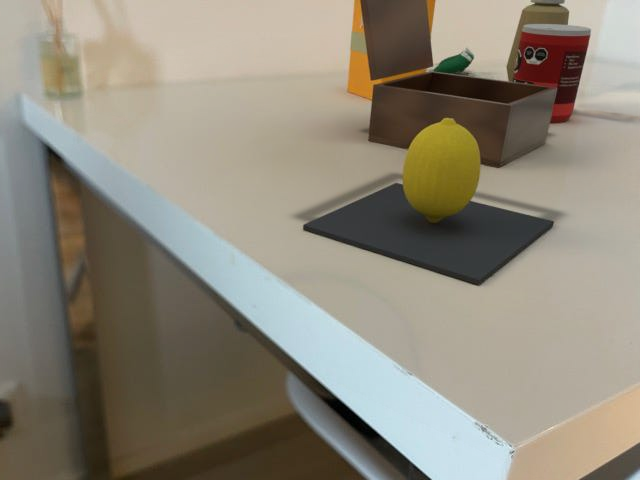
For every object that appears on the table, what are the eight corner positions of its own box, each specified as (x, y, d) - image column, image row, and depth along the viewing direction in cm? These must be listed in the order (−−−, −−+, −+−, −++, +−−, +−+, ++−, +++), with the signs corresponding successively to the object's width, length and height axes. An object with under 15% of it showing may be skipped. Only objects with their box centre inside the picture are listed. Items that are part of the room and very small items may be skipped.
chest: (545, 143, 75) (557, 87, 72) (499, 167, 66) (511, 105, 63) (423, 121, 83) (430, 70, 81) (367, 140, 74) (373, 84, 72)
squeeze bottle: (495, 93, 101) (518, -39, 93) (510, 85, 107) (533, -39, 99) (550, 100, 97) (579, -37, 89) (563, 92, 103) (591, -37, 95)
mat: (553, 225, 52) (554, 221, 52) (478, 285, 42) (479, 279, 42) (395, 186, 60) (396, 182, 60) (302, 229, 50) (303, 224, 50)
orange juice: (378, 102, 93) (394, -58, 84) (346, 91, 100) (357, -58, 91) (424, 99, 96) (444, -57, 87) (389, 88, 103) (404, -57, 94)
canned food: (502, 108, 91) (518, 22, 86) (564, 112, 90) (584, 25, 85) (510, 120, 84) (527, 28, 79) (576, 124, 83) (598, 31, 78)
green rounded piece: (444, 89, 113) (474, 65, 110) (430, 71, 113) (460, 47, 109) (450, 80, 121) (478, 58, 118) (437, 64, 120) (465, 41, 117)
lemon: (449, 242, 47) (467, 131, 44) (383, 222, 51) (394, 117, 47) (483, 222, 51) (502, 118, 47) (419, 205, 54) (433, 106, 51)
